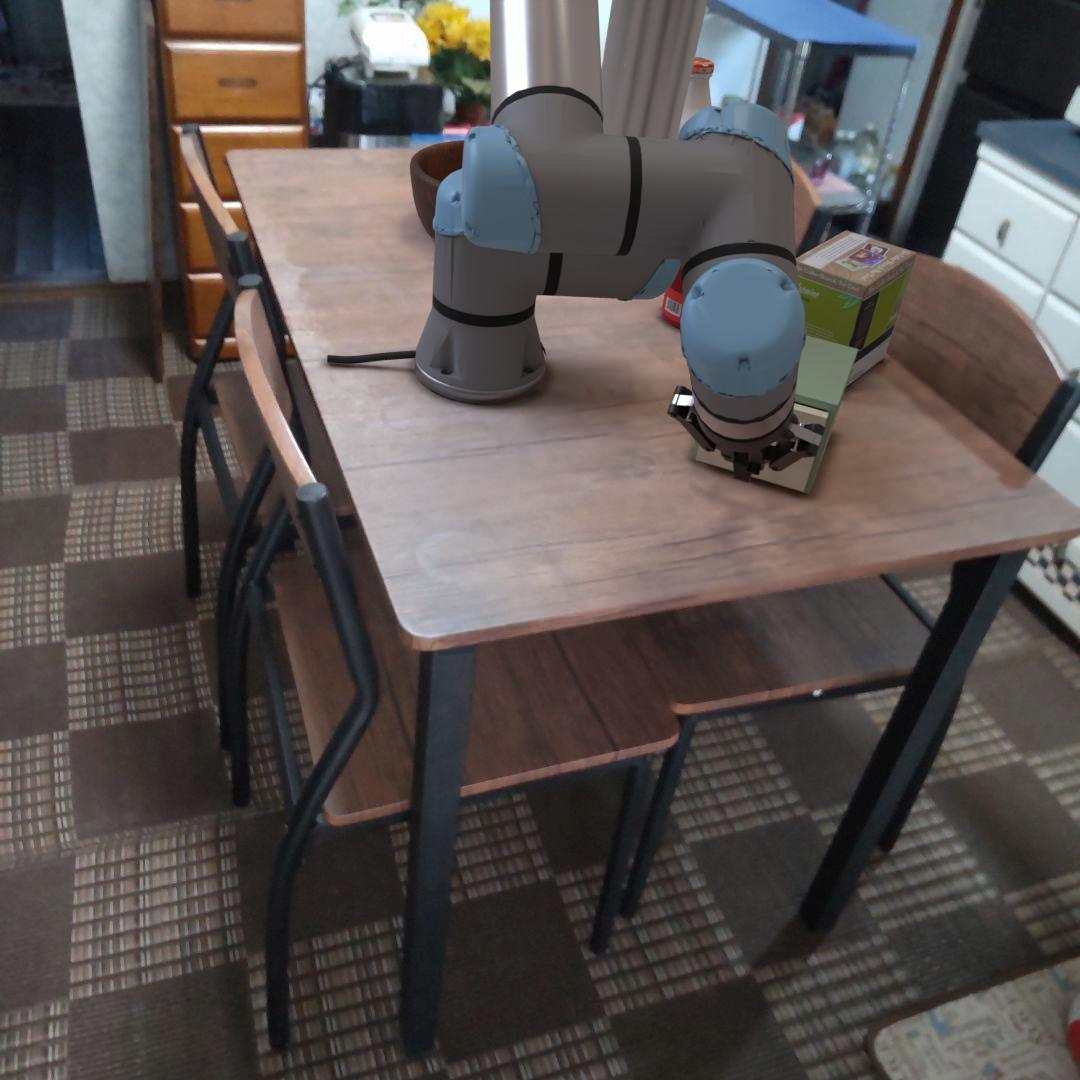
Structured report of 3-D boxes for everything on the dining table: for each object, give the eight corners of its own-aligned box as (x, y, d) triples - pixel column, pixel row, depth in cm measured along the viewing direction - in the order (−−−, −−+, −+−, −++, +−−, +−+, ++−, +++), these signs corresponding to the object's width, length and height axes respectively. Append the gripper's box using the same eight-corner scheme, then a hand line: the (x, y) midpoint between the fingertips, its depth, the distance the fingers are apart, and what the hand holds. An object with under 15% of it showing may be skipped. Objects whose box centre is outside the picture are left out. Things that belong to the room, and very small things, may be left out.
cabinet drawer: (795, 514, 99) (819, 438, 94) (684, 480, 102) (701, 405, 97) (824, 435, 112) (846, 364, 106) (724, 407, 115) (741, 337, 109)
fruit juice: (670, 246, 154) (706, 51, 137) (704, 271, 148) (745, 69, 131) (618, 252, 151) (648, 51, 133) (650, 277, 144) (686, 70, 127)
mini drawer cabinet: (809, 494, 104) (838, 405, 97) (692, 459, 107) (712, 370, 100) (831, 433, 114) (858, 348, 108) (723, 403, 117) (743, 319, 111)
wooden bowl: (560, 279, 141) (569, 207, 134) (389, 252, 142) (389, 180, 136) (583, 218, 160) (591, 153, 154) (431, 195, 162) (433, 129, 156)
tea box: (816, 333, 135) (847, 226, 126) (885, 360, 130) (922, 251, 121) (762, 368, 125) (791, 255, 116) (834, 399, 121) (870, 284, 112)
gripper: (846, 369, 73) (824, 450, 96) (677, 323, 76) (694, 413, 99) (814, 464, 72) (799, 523, 95) (645, 414, 76) (669, 483, 98)
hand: (745, 467), depth 97 cm, fingers closed
